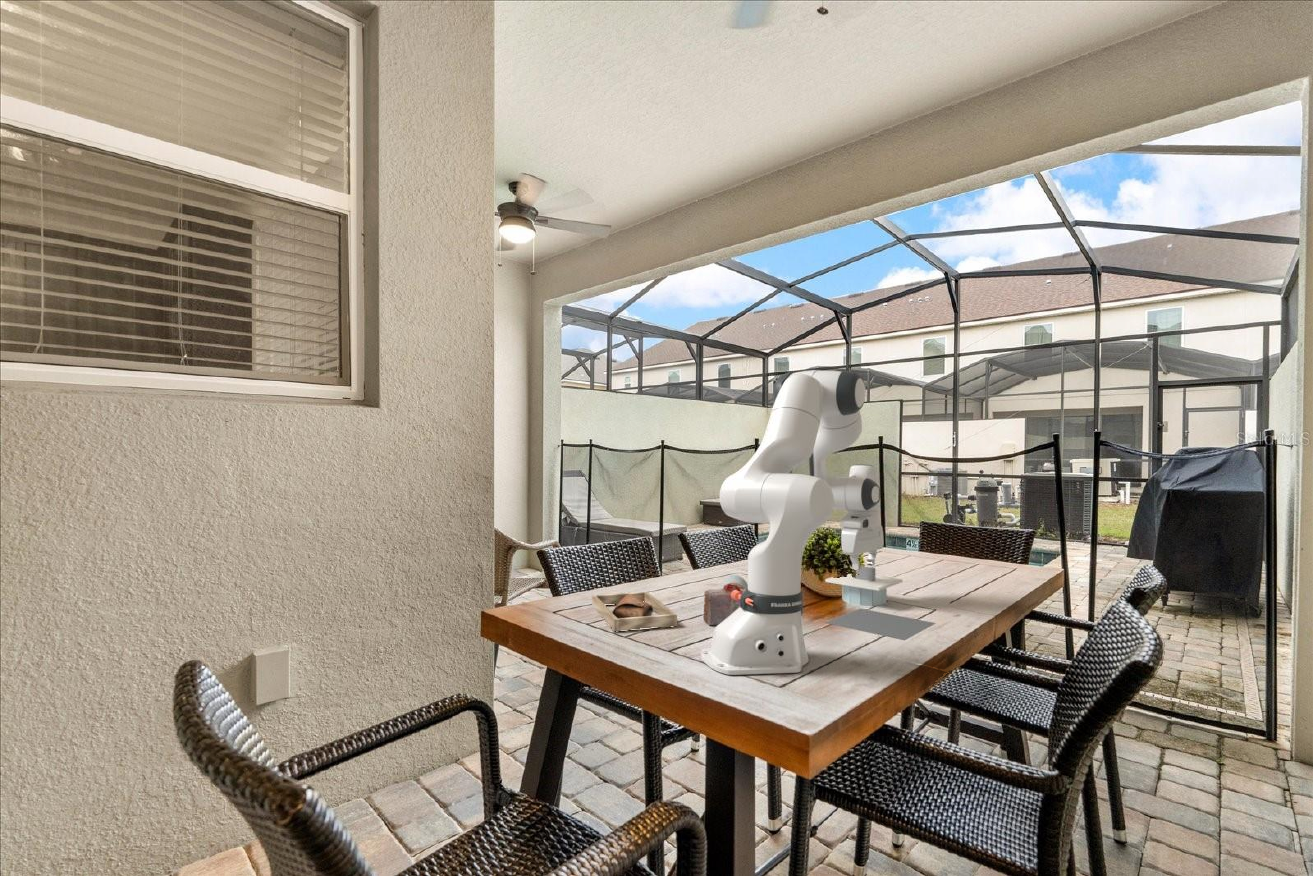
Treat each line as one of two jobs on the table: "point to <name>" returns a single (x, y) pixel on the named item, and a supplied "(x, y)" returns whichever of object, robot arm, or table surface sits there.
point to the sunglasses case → (631, 607)
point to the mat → (881, 623)
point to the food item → (720, 604)
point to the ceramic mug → (735, 581)
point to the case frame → (618, 624)
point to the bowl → (864, 596)
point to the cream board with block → (866, 580)
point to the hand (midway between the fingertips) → (863, 567)
